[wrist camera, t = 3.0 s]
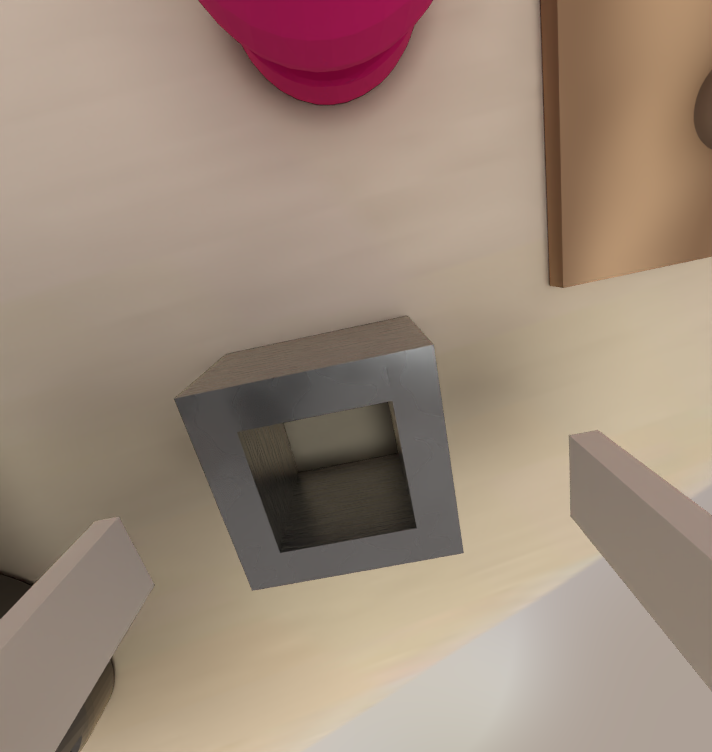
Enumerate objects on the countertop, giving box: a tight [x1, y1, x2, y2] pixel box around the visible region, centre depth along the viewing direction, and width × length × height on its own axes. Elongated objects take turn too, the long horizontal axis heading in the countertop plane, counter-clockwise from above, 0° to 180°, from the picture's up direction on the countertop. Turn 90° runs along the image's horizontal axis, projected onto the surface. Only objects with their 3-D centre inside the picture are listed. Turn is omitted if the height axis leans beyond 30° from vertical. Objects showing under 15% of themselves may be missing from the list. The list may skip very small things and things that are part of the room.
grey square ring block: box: [174, 316, 464, 591], centre depth 15 cm, size 8×8×5 cm
